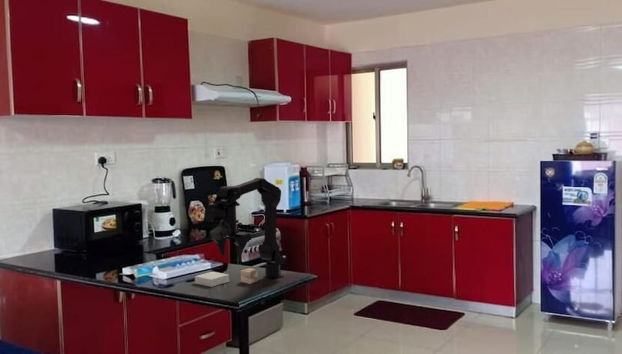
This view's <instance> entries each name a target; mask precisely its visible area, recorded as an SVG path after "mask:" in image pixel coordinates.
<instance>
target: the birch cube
mask: <svg viewBox="0 0 622 354" xmlns="http://www.w3.org/2000/svg"><path fill="white" fill-rule="evenodd" d="M258 275H259V273H258V269H255V268H250V267H249V268H245V269H241V270H240V283H244V284H247V285H248V284H249V285H251V284H253V283H256V282H258V281H259V280H258V278H259V276H258Z"/></svg>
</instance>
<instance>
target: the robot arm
mask: <svg viewBox="0 0 622 354" xmlns="http://www.w3.org/2000/svg"><path fill="white" fill-rule="evenodd" d="M254 191H257V192H258V194H260V195H261V201H262V203H263V205H264V237H263V238H264V239H263V241H262V243H259V246H258V248H259V249H258V250H259V251H258V254H259V256H260V259H261V261H262V263H263V264H264V263H265V275H263V276H262V278H266V279H271V280H276V279H279V278H283V277H284V275H283V274H282V273H281V272H282V271H281V269H282V267H281V266H282V265H283V264H284V263H285V260H286V259H285V257H284V256H283V255H282V253H281V252H280V251H281V249H280V246H279V243H278V242H277V207H278V205H279V204H280V201H281V198H282V191H281V189H280V187H279V186H276V185H275V184H273V183H272V182H269V181H268V180H267V179H266V178H263V177H256V178H254V179H251V180H249V181H245V182H242V183H240V184H236V185H226V186H221V187H219V189H218V192H217V194H216V196H215V198H214V201H213V203H208V204H207V207H206V209H205V211H204V219H205V220H206V222H208V223H212V222H218V221H219V222H218V226H216V227H214V228H213V229H212V230H210V231H209V233H208V238H209V239H211V241H213V242H215V244H216V246H217V247H218V251H219V253H220V255H221V256H224V255H225V250H226V244H227V242H226V241H227V238H228V239H229V238H230V239H233V240H234V242H233V243H234V244H235V247H236V256H237V259H241V257H242V254H243V253H244V250H245V247H246V245H247V244H248V243H249V242H250V241H251V240H252V234H251V233H250V232H245V231H244V232H240V229H238V228H237V227H238V226H237V225H238V223H239V222H240V221H239V219H237V207H239V206H241V204H240V203H239V202H238V201H237V200H239V199H240V198H241V197H242V196H243V195H245V194H248V193H251V192H254Z"/></svg>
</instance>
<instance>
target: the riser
mask: <svg viewBox="0 0 622 354" xmlns="http://www.w3.org/2000/svg"><path fill="white" fill-rule="evenodd" d="M228 282H230V275H229V274H227V273H223V272H222V273H221V272H218V271H210V272H206V273H202V274H198V275H196V276H195V275H194V284H197V285H201V286H206V287H209V288H210V287H211V288H212V287H215V286H219V285H223V284H225V283H228Z"/></svg>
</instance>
